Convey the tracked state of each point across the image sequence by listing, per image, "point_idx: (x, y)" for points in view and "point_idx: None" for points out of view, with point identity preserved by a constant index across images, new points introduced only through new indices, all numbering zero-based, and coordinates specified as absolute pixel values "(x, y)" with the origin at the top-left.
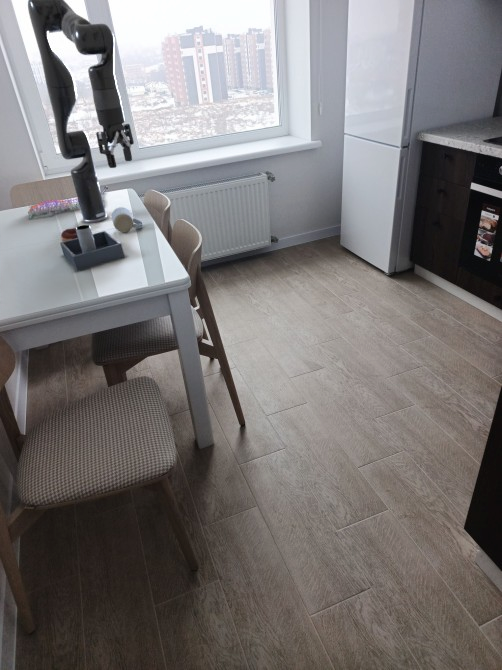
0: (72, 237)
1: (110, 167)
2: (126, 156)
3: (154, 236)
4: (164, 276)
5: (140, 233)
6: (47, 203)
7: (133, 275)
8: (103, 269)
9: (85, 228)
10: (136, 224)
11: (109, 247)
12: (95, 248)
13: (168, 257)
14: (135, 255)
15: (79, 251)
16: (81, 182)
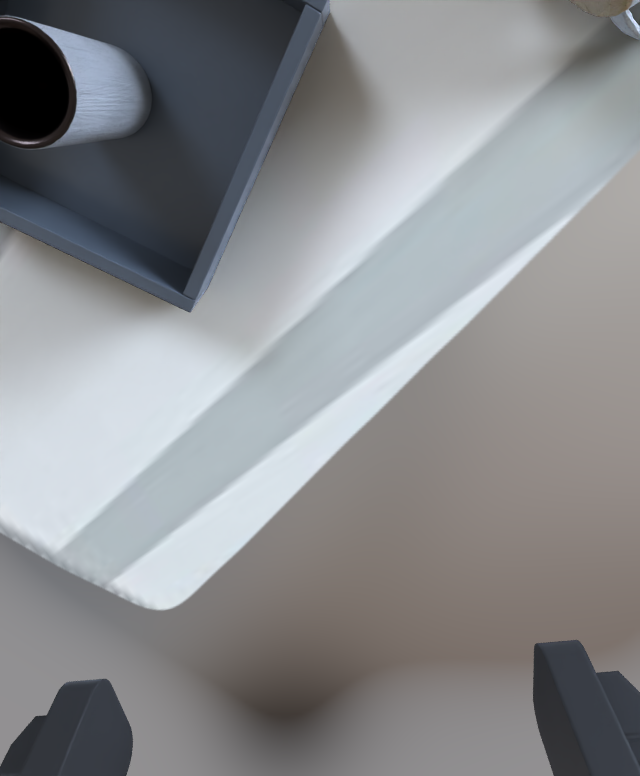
0: None
1: (75, 688)
2: (559, 740)
3: (517, 240)
4: (143, 557)
5: (553, 105)
6: None
7: (87, 454)
8: (53, 288)
9: (9, 142)
10: (630, 27)
11: (121, 279)
12: (117, 135)
13: (292, 476)
14: (251, 323)
15: None
16: None
